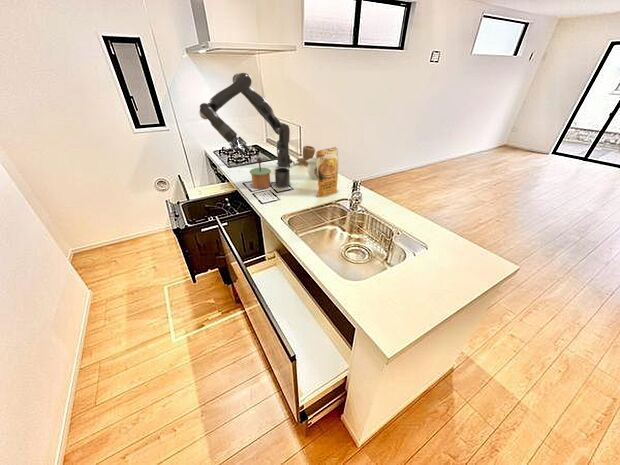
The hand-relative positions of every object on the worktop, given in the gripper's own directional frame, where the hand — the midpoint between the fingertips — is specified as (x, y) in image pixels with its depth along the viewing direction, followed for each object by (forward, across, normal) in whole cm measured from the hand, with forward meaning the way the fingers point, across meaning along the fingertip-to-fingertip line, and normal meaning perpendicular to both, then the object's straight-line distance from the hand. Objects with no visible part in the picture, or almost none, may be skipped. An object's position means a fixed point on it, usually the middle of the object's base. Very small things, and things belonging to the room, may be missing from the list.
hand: (247, 152), depth 163 cm
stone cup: (+38, +52, -6) cm, 64 cm away
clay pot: (+21, 0, +10) cm, 23 cm away
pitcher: (+46, +21, -15) cm, 52 cm away
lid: (+14, 0, +3) cm, 14 cm away
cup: (+30, +4, 0) cm, 31 cm away
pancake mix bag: (+52, -5, -22) cm, 57 cm away
